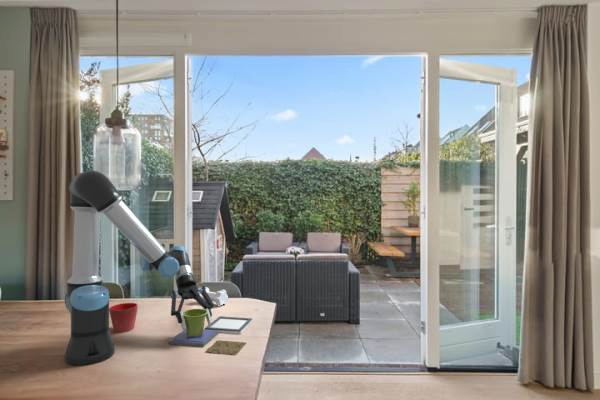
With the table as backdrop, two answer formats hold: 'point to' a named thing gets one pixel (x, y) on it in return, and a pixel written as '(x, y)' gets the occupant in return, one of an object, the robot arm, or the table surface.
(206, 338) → the ink pad
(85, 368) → the table surface
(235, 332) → the marked board
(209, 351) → the brown square mat
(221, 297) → the bone shaped toy
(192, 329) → the plant pot
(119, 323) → the flower pot
